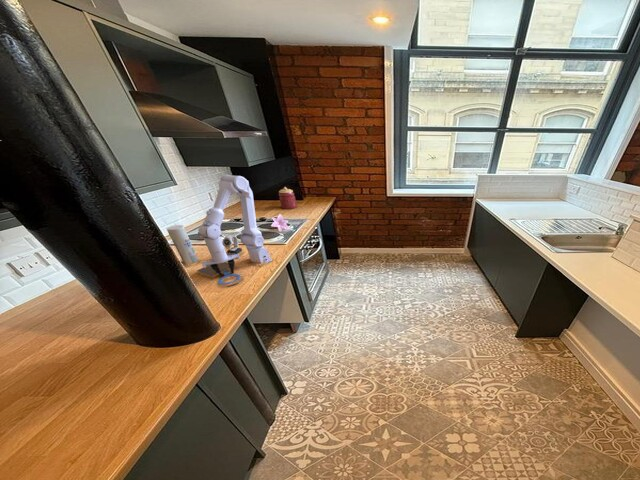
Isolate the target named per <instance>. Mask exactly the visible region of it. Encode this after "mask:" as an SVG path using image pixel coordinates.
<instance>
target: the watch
mask: <svg viewBox="0 0 640 480" xmlns="http://www.w3.org/2000/svg"><path fill="white" fill-rule="evenodd" d="M222 243H223V246H224V249H225V250H226V253H227V255H228V254H229V255H235V254H240V253H241V252H242V251H243V249H242V247H239V239H238V238H237V236H236V235H226V236H225V237H224V238H223V239H222ZM232 246H233V247H232Z"/></svg>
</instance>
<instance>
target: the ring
mask: <svg viewBox="0 0 640 480" xmlns="http://www.w3.org/2000/svg"><path fill="white" fill-rule="evenodd" d="M222 275H223V277H220V278H219V279H218V280H217V283H218V284H219V285H223V286H224V285H227V286H226V288H229V287H233V286H236V285H238V284H239V282H238V281H239V280H240V279H241V278H242V276H241V274H238V273H234V274H232V273H231V271H230V270H229V269H227V270H224V271H222ZM228 277H236V278H235V279H234V280H232V281H229V282H224V281H223V280H224V279H226V278H228ZM236 282H237V283H236Z"/></svg>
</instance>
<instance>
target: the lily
mask: <svg viewBox="0 0 640 480" xmlns="http://www.w3.org/2000/svg"><path fill="white" fill-rule="evenodd" d="M271 219H272V220H273V222H272V223H271V225H270V226H271V227H273V228H277V229H278V231H279V232H280V233H281V232H282V231H283V229H286V230H290V227H289V225H288V223H289V220H286V219H284V217H283V215H282V214H281V213H279V215H277V218H276V217H271Z"/></svg>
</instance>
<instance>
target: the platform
mask: <svg viewBox="0 0 640 480" xmlns="http://www.w3.org/2000/svg"><path fill="white" fill-rule="evenodd" d="M217 265H218V267H219V269H220V272H221V273H223V271H225V270H229V269H230V267H229V264H228V262H223V263H219V264H217ZM236 266H237V265H236V264H234V267H236ZM196 272H199V273H201V274H205V275H207V276H210V277H213V276H216V275H219V274H218V273H217V272H216V271H215V270H213V269H212V268H211V266H207V267H206V268H203V267H202V268H199V269H197V270H196Z"/></svg>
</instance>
